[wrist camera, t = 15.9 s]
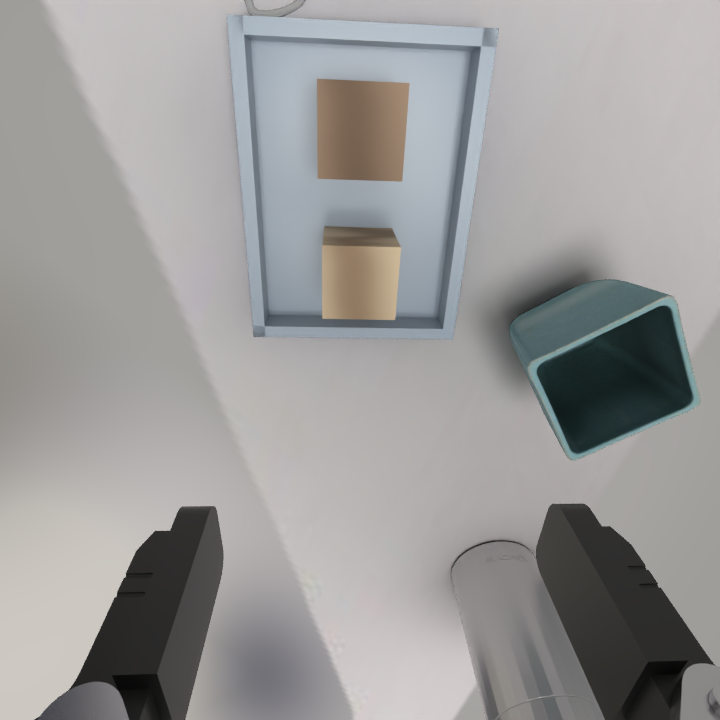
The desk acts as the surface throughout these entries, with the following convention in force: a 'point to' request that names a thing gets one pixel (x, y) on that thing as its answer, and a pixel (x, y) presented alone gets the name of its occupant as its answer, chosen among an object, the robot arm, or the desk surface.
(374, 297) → the oak block
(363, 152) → the walnut block
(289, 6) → the key chain
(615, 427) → the flower pot
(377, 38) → the tray
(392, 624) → the desk surface
